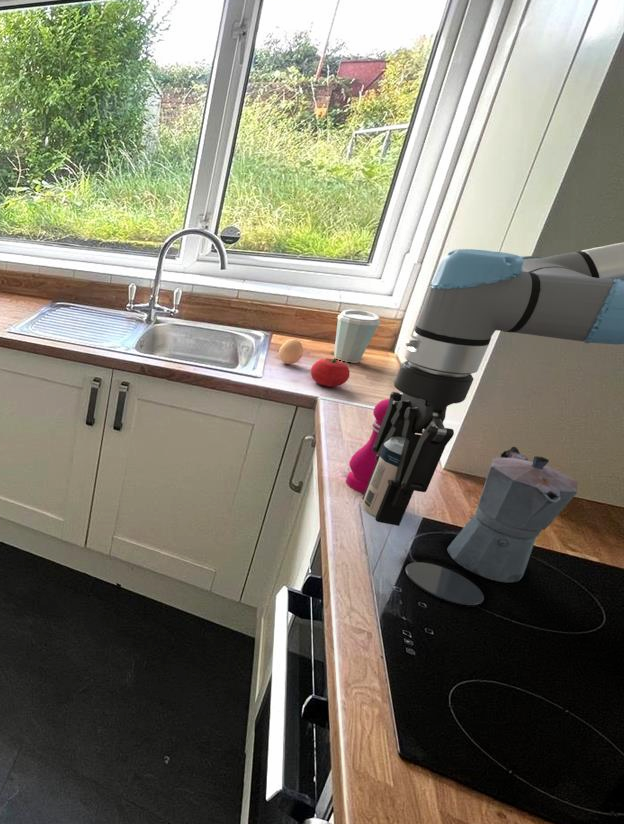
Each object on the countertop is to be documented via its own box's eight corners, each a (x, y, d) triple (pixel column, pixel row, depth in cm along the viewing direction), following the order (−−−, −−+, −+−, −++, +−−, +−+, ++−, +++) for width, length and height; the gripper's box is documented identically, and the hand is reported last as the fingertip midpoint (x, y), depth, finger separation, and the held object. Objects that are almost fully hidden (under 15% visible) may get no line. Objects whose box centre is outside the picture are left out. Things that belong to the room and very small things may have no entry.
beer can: (395, 527, 84) (425, 454, 79) (356, 512, 87) (382, 441, 83) (402, 514, 87) (432, 444, 82) (364, 500, 90) (390, 432, 86)
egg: (273, 363, 176) (280, 338, 173) (279, 358, 180) (286, 334, 177) (295, 368, 172) (303, 343, 169) (301, 364, 176) (309, 339, 173)
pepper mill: (342, 473, 117) (377, 382, 109) (387, 485, 113) (426, 392, 105) (342, 488, 111) (378, 393, 104) (389, 502, 108) (430, 405, 100)
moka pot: (466, 585, 87) (525, 471, 80) (423, 527, 101) (470, 424, 93) (547, 603, 84) (617, 487, 77) (492, 541, 98) (547, 436, 90)
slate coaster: (495, 596, 86) (496, 594, 85) (463, 614, 82) (464, 611, 82) (424, 558, 93) (425, 556, 93) (392, 573, 89) (393, 571, 89)
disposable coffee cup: (367, 368, 175) (384, 320, 169) (324, 360, 180) (340, 314, 174) (364, 358, 183) (381, 312, 177) (323, 351, 188) (338, 306, 183)
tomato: (350, 387, 160) (360, 360, 157) (336, 393, 156) (346, 365, 152) (315, 376, 167) (324, 350, 164) (301, 382, 162) (309, 355, 159)
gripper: (380, 344, 87) (332, 477, 96) (433, 386, 71) (371, 541, 80) (441, 350, 85) (387, 486, 93) (510, 396, 69) (437, 554, 78)
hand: (380, 511), depth 87 cm, fingers closed on beer can, 5 cm apart
